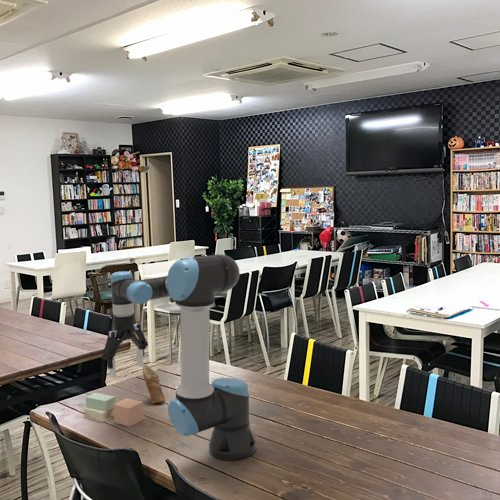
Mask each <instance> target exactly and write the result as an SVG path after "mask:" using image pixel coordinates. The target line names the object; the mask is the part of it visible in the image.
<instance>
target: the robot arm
mask: <svg viewBox="0 0 500 500" xmlns="http://www.w3.org/2000/svg"><path fill="white" fill-rule="evenodd" d="M240 274H241V273H240V268H239V265H238V264H237V262H236V261H235V259H233V258H232V257H230V256H229V255H226V254H211V255H204V256H196V257H195V256H194V257H186V258H184V259H179V260H176V261H174V262H173V264H172V265H171V266H170V268H169V269H168V273H167V275H165V276H159V277H152V278H144V279H137V280H136V279H135V280H134V278H133V275H132V272H131V271H115V272H113V273H111V275H110V289H111V301H112V305H111V306H112V314H113V316H112V317H113V319H112V321H113V326H114V330H113V331H111V330H108V331H107V338H106V341H105V345H104V349H103V353H102V355H101V359H103V360H106V362H107V365H106V366H107V369H108V373H109V374H108V375H109V377H111V378H117V370H116V369H117V368H116V359H115V356H116V353H117V352H118V350H119V347H120V345H121V344H122V343H123V342H124V341H127V340H131V341H132V342H133V344H134V345H135V346H136V347H137V348H136V349H135V350H136V366H137V367H141V368H143V367H144V365H145V364H144V363H145V362H144V357H145V350H146V349H147V346H149V343H148V341H147V339H146V337H145V335H144V333H143V330H142V327H141V324H140V323H136V321H135V314H134V313H135V306H134V305H135V304H137V305H138V304H139V305H142V304H143V305H144V304H147V303H148V302H149V301H153V300H157V299H163V298H172V300H174V303H175V305H176V306H177V307H179V310H180V384H179V385H178V386H177V387H175V398H172V399H171V400H170V401H168V404H167V412H168V417H169V420H170V423H171V424H172V426H173V428H174V429H175V430H176V432H177V433H179V434H180V435H181V436H184V437H187V436H188V437H189V436H192V435H197V434H199V433H201V432H203V431H207V430H210V429H212V428H213V429H212V432H211V435H210V439H209V443H208V452H209V454H210V456H212V457H213V458H215V459H218V460H223V461H238V460H244V459H246V458H249V457H250V456H252V455H253V454H254V453H255V452H256V449H257V446H256V439H255V437H254V434H253V431H252V429H251V426H250V405H249V404H250V402H249V401H250V400H249V399H250V398H249V397H250V393H249V386H248V384H247V382H246V381H243V380H241V379H238V378H234V377H233V378H232V377H219V378H215V379H213V380H211V384H210V309H211V307H213V306H214V305H215V302H216V301H215V298H216V295H217V294H222V293H225V292H228V291H230V290H232V289H233V288H234V287H235V286H236V285H237V284H238V282H239V279H240Z"/></svg>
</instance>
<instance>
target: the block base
mask: <svg viewBox="0 0 500 500" xmlns="http://www.w3.org/2000/svg"><path fill="white" fill-rule="evenodd" d="M83 412H84V413H83V415H84V418H85V419H88V420H92V419H93V421H95V420H96V422H99V423H105V422H107V421H109V420H112V419H114V408H112V409H110V410H108V411H101V410H97V409H92V408H88V407H86V406H85V407H83Z"/></svg>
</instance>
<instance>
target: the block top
mask: <svg viewBox="0 0 500 500" xmlns="http://www.w3.org/2000/svg"><path fill="white" fill-rule="evenodd" d="M115 403H116V396H113V395H109V394H104V393H99V392H94V393H91V394H90V395H87V396H85V407H88V408H92V409H97V410H101V411H108V410H110V409H112V408H113V404H115Z"/></svg>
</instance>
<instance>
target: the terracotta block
mask: <svg viewBox="0 0 500 500" xmlns="http://www.w3.org/2000/svg"><path fill="white" fill-rule="evenodd" d="M113 408H114V418H113V421H114V423H116V424H117V425H121V424H122V425H121V426H125V427H129V428H131V427H133V426H134V425H136V424H138V422H139V423H140V421H141V422H143V421H144V419H145V418H144V402H143V401H140V400H136V399H133V398H128V397H127V398H125V399H123V400H120V401H117V402H115V404H113ZM142 420H143V421H142ZM130 426H131V427H130Z"/></svg>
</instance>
